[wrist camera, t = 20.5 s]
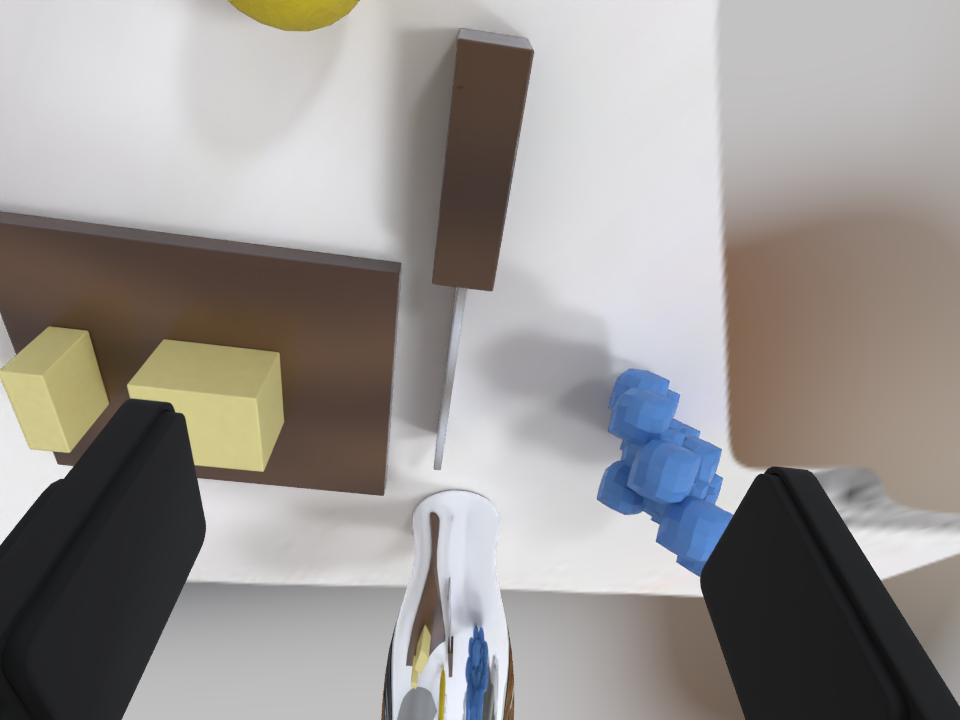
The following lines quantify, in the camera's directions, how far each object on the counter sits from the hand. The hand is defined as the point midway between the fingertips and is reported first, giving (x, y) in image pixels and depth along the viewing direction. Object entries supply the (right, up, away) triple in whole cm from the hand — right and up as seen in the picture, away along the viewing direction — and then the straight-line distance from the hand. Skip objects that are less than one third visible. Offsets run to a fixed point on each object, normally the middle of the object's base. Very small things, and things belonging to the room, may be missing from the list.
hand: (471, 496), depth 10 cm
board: (-15, +2, +24) cm, 28 cm away
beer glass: (-2, -9, +31) cm, 32 cm away
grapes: (+9, 0, +25) cm, 27 cm away
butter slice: (-22, +2, +22) cm, 31 cm away
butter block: (-14, +1, +23) cm, 27 cm away
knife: (-1, +7, +20) cm, 21 cm away
